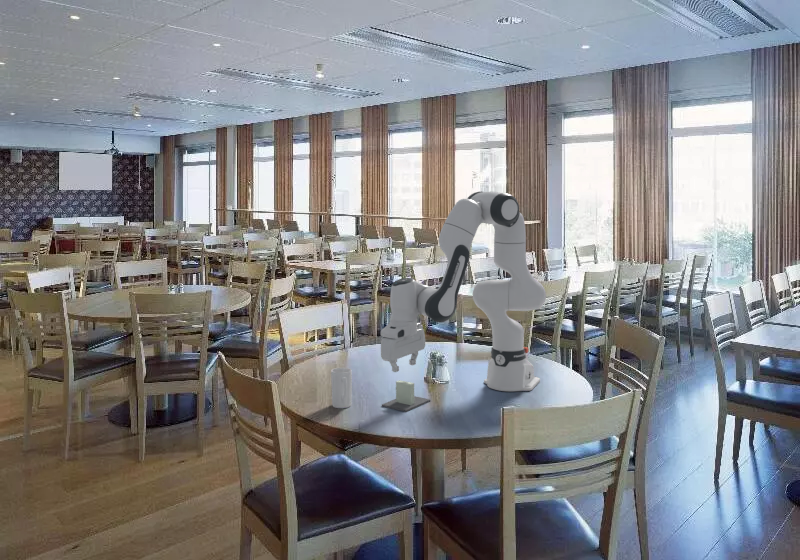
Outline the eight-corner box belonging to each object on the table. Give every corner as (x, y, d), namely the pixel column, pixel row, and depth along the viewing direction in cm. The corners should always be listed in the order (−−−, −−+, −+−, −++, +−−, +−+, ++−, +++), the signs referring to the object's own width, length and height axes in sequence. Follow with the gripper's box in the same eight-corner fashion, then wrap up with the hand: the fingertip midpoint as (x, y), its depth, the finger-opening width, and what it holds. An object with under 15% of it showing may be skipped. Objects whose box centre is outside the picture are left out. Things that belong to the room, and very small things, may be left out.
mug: (329, 403, 232) (329, 368, 230) (349, 401, 233) (349, 367, 232) (335, 412, 222) (335, 376, 220) (356, 410, 224) (355, 374, 222)
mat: (406, 396, 240) (406, 394, 239) (430, 401, 234) (430, 399, 234) (381, 406, 228) (381, 404, 228) (406, 411, 222) (406, 410, 222)
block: (399, 400, 233) (399, 380, 232) (414, 403, 229) (414, 383, 228) (396, 401, 231) (396, 381, 230) (410, 405, 227) (410, 384, 227)
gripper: (414, 320, 237) (414, 359, 240) (377, 332, 221) (377, 373, 224) (429, 322, 234) (429, 362, 236) (392, 335, 218) (393, 377, 220)
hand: (404, 368), depth 230 cm, fingers open, 8 cm apart
